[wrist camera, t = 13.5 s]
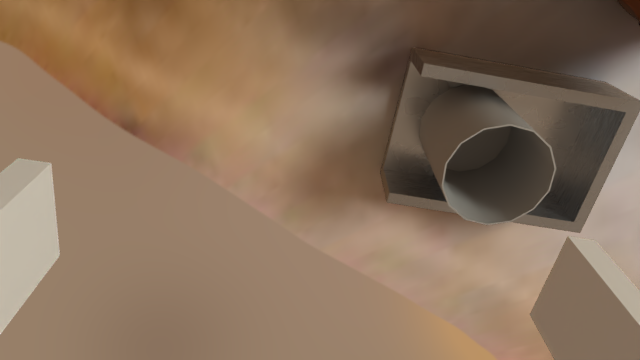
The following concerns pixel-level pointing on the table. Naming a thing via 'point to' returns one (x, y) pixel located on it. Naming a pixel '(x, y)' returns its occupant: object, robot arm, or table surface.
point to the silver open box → (533, 107)
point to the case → (631, 7)
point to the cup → (485, 156)
